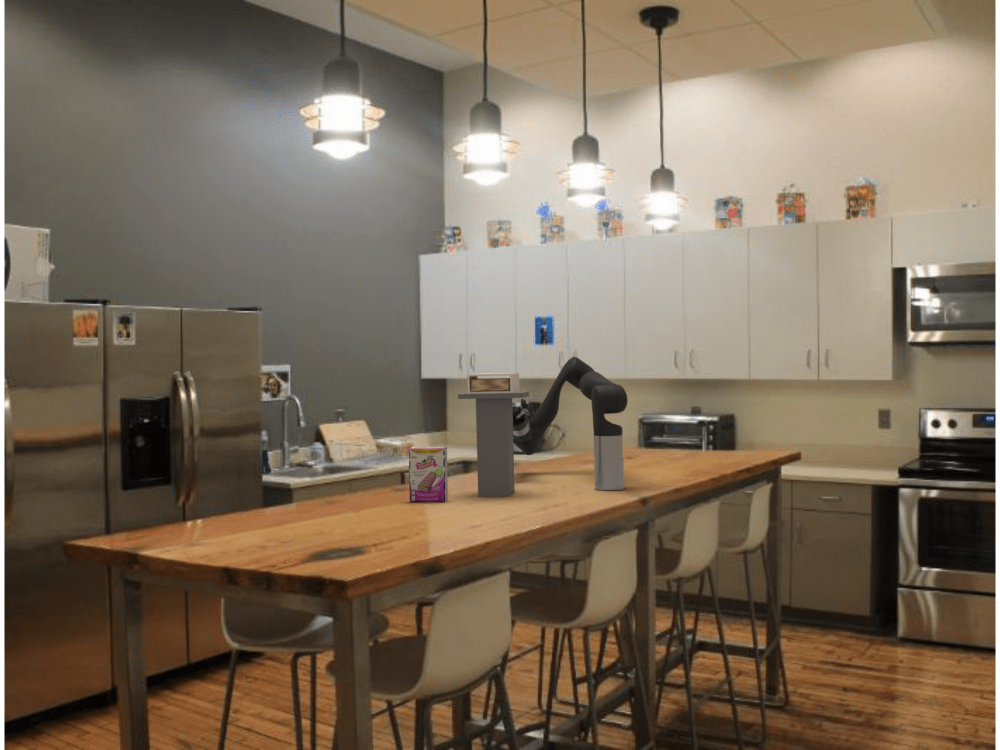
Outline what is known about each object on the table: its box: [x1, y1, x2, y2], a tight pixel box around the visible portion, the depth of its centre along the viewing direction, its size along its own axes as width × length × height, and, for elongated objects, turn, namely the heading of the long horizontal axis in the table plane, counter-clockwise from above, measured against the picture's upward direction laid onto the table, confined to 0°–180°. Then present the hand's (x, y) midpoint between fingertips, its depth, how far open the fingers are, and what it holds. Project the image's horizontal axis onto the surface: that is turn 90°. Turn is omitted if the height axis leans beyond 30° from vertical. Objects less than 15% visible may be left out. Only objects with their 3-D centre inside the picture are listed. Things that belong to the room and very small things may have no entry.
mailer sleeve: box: [466, 372, 520, 394], centre depth 308 cm, size 14×12×6 cm
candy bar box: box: [408, 446, 449, 503], centre depth 298 cm, size 11×5×16 cm, turn 84°
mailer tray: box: [471, 377, 510, 391], centre depth 313 cm, size 12×22×3 cm, turn 169°
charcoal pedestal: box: [457, 390, 530, 498], centre depth 308 cm, size 20×13×32 cm, turn 79°
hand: (509, 401), depth 332 cm, fingers open, 8 cm apart
